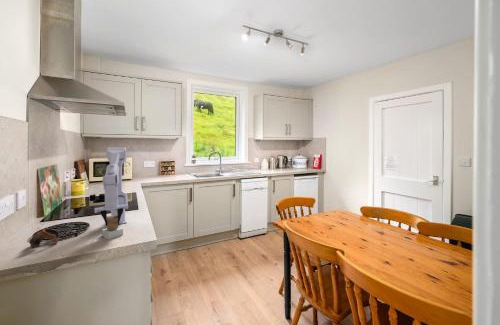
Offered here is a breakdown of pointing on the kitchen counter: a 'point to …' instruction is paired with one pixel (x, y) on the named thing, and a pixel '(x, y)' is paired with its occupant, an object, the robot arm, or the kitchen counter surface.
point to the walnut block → (112, 222)
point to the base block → (112, 233)
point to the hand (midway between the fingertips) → (112, 224)
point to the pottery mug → (39, 237)
